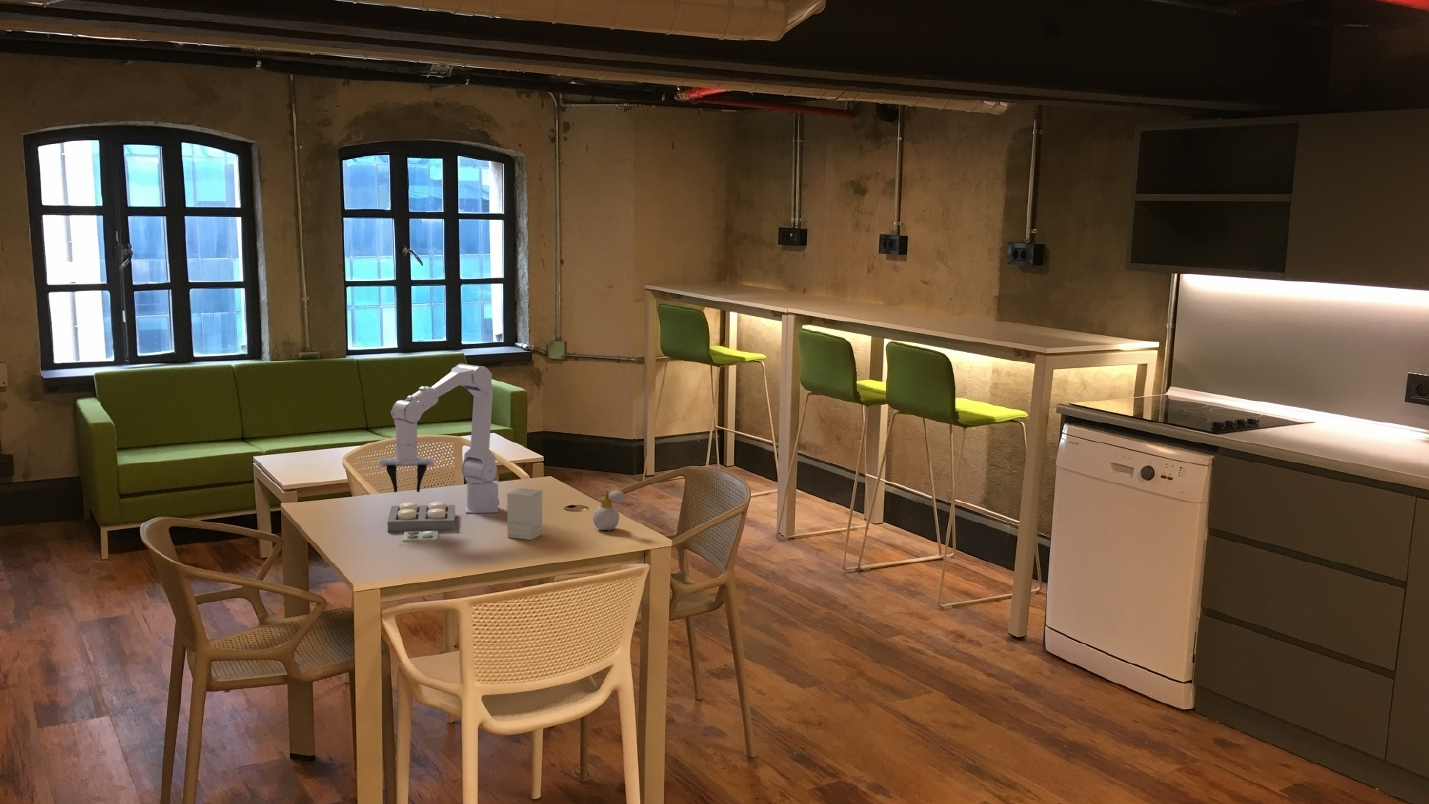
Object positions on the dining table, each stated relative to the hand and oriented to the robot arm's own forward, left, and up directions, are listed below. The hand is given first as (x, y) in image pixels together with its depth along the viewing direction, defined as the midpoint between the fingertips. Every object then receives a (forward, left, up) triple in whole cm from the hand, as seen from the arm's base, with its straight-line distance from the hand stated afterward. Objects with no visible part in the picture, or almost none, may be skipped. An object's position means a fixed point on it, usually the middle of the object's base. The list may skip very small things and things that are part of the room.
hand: (407, 491), depth 328 cm
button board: (-4, -4, -10) cm, 12 cm away
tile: (-4, +10, -10) cm, 15 cm away
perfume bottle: (-56, +8, -10) cm, 58 cm away
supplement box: (-32, +12, -10) cm, 36 cm away
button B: (-8, 0, -8) cm, 12 cm away
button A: (0, 0, -8) cm, 8 cm away
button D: (-8, -8, -8) cm, 14 cm away
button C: (0, -8, -8) cm, 12 cm away
